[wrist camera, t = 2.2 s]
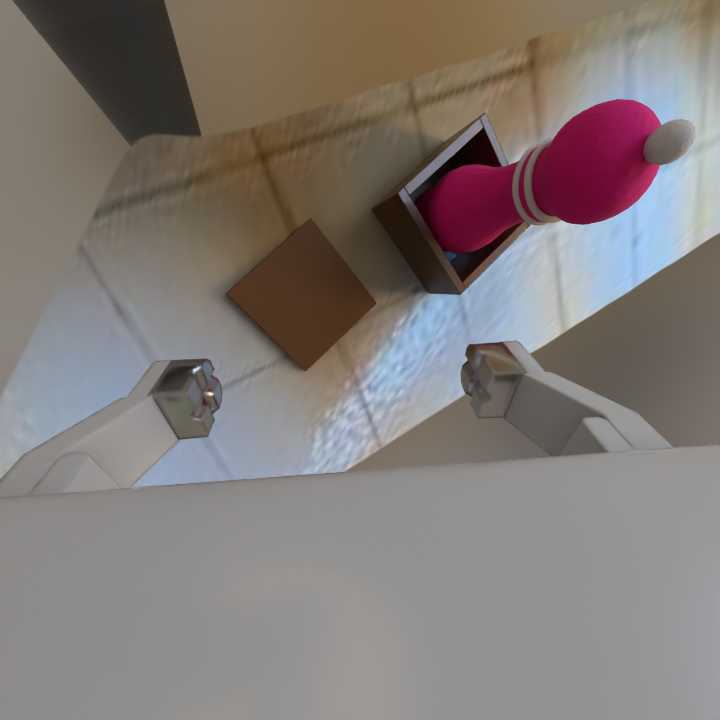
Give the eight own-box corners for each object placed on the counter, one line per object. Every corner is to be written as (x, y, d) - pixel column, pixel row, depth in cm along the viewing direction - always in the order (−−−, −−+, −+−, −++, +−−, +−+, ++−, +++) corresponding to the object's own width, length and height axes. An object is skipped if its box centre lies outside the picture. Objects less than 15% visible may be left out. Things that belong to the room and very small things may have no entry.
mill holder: (428, 293, 33) (460, 295, 28) (370, 208, 29) (397, 192, 24) (492, 231, 35) (534, 221, 30) (445, 140, 30) (485, 111, 25)
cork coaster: (226, 293, 26) (226, 293, 26) (309, 219, 28) (310, 218, 27) (304, 370, 30) (305, 371, 30) (375, 302, 32) (376, 303, 31)
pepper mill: (400, 248, 31) (619, 195, 13) (414, 172, 30) (679, -4, 12) (456, 263, 34) (703, 237, 16) (471, 194, 33) (759, 79, 14)
